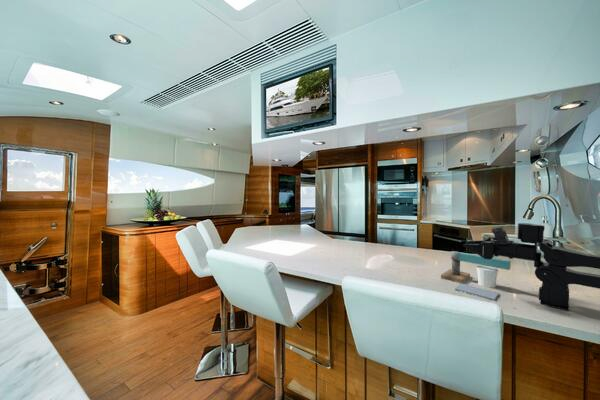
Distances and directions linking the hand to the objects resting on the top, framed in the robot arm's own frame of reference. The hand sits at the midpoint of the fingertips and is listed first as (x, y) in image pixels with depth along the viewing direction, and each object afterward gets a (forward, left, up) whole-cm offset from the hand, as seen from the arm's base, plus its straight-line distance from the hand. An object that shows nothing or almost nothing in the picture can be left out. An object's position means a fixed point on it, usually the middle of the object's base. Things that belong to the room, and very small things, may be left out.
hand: (466, 243), depth 98 cm
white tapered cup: (-6, -4, -17) cm, 18 cm away
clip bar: (-3, -4, -8) cm, 10 cm away
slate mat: (-5, +8, -17) cm, 19 cm away
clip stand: (+5, -4, -17) cm, 18 cm away
